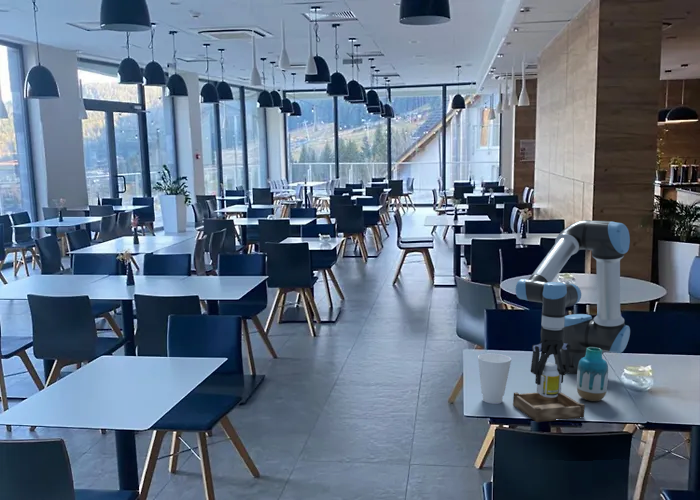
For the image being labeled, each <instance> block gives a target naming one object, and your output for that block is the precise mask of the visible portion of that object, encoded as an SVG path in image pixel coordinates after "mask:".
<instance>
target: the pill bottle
mask: <svg viewBox="0 0 700 500" xmlns="http://www.w3.org/2000/svg"><path fill="white" fill-rule="evenodd" d="M542 376H544V382H543V395H541V396H544V397H548V398H554V397H557V396H558V384H559V372H558V371H557V364H555V362H546V364H545V367H544V370H543V373H542Z"/></svg>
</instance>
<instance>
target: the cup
mask: <svg viewBox="0 0 700 500" xmlns="http://www.w3.org/2000/svg"><path fill="white" fill-rule="evenodd" d="M477 359H478V371H479V379H480V380H479V381H480V390H481V394H482V401H483V402H485V403H487V404H493V405H496V404H498V405H499V404H501V403H502V402H503V398H504V396H505V393H506V388H507V384H508V383H507V382H508V377H509V372H510V367H511V363H512V358H511V357H510V356H508V355H505V354H501V353H496V352H495V353H494V352H491V353H490V352H489V353H487V352H486V353H482V354H480V353H479V354H478V356H477Z"/></svg>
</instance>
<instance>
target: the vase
mask: <svg viewBox="0 0 700 500" xmlns="http://www.w3.org/2000/svg"><path fill="white" fill-rule="evenodd" d="M608 381H609V365H608V362H607V361H606V360H605V359H604V358H603V351H602V349H600V348H596V347H588V348H587V349H586V355H585V357H583V358H581V359H580V361H579V364H578V370H577V374H576V389H577V391H576V392H577V394H578V396H579V397H580V398H581V399H584V400H586V401H589V402H598V401H602V399H604V397H606V393H607V389H608Z"/></svg>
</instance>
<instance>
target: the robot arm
mask: <svg viewBox="0 0 700 500" xmlns="http://www.w3.org/2000/svg"><path fill="white" fill-rule="evenodd" d="M630 239H631V238H630V232H629V228H628V227H627V226H626V224H624V223H622V222H615V221H609V220H608V221H607V220H589V219H585V220H584V219H583V220H579V221H575V222H574V223H572V224H570V225H568V226H567V227H565V228H564V229H563V230H562V231H560V233H559V234H558V235H557V237H556V238H555V241H554V245H553V246H552V247H551V249H550V250H549V251H548V252H547V254H546V256H545V257H544V258H543V259H542V261H541V262H540V263H539V265H538V266H537V267H536V269H535V270H534V271H533V273H531V275H530V277H529V278H528V279H527V278H521V279H519V280H518V281H517V282H516V284H515V295H516V297H517V298H518V299H519V300H525V301H527V302H528V301H529V302H535V303H542V307H541V308H542V309H541V310H542V311H541V327H540V342H539V343H538V344H532V346H531V348H532V357H531V365H530V373H532V374H533V375H535V380H534V381H535V384H536V393H539V394H540V395H543V382H544V376H542V373H543V370H544V367H545V364H546V363H548V361H547V360H548V359H549V358H550V356H551V355H553V357H554V363H555V364H557V371H558V372H559V384H558V393H562V392H561V391H562V390H561V388H562V384H563V383H564V376H566V374H570V375H571V374H572V375H577V370H578V364H579V361H580V359H581V358H583V357H585V355H586V349H587V348H588V347H596V348H600V349H602V352H608V353H615V354H621V353H623V352H624V351H625V349H626V348H627V345H628V342H629V340H630V335H631V328H630V326H629V325H627V324H625V318H624V317H623V316H622V315H621V260H622V259H623V258H624V257H625V254H626V253H628V251H629V249H630V243H631V240H630ZM580 250H587V251H591V257H592V258H593V259H595V261H596V265H595V267H596V307H597V310H596V311H597V313H596V314H597V315H596V316H594V317H592V315H591V314H590V315H589V314H585V313H576V314H575V313H574V314H573V313H572V314H568V315H566V308H568V307H572V306H575V305H576V304H578V303H579V302H580V301H581V298H582V291H581V289H580V288H579V286H578V285H577V284H574V283H566V284H565V283H563V282H558V281H554V280H555V279H556V277H557V276H558V275H559V273H561V271H562V269H563V268H564V266H565V265H566V264H567V262H568V260H569V259H570V258H571V256H573V255H575V254H577V253H578V252H579V251H580Z"/></svg>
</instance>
